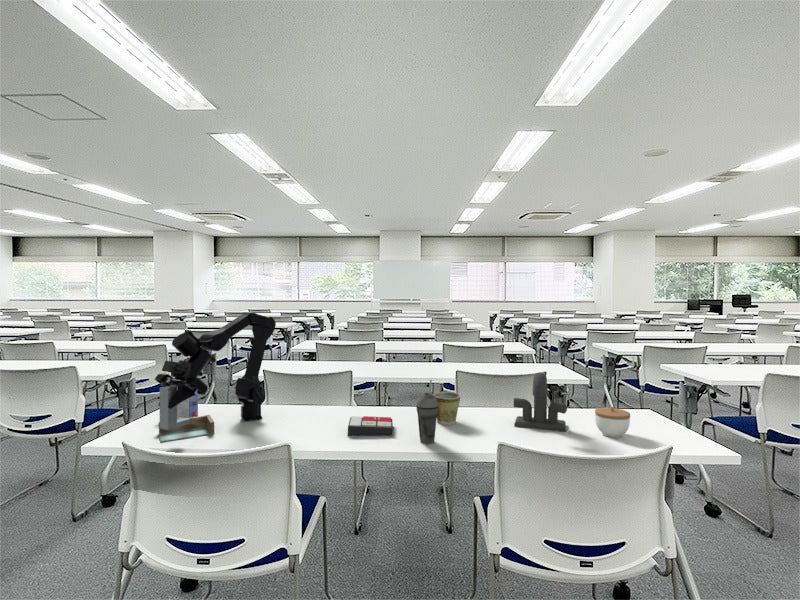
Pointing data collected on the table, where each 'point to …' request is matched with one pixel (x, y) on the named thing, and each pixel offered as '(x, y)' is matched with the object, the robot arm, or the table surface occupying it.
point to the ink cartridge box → (188, 407)
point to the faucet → (540, 409)
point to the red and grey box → (370, 426)
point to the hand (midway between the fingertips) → (164, 407)
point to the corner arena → (189, 429)
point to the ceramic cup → (447, 407)
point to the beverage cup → (427, 416)
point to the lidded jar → (612, 421)
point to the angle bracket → (169, 410)
